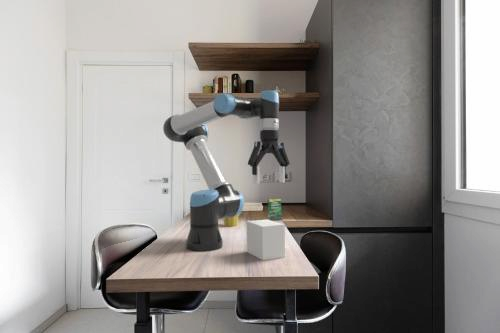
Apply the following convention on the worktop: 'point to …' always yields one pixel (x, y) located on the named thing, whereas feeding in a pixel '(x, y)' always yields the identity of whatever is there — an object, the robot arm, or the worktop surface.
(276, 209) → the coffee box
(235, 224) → the plant pot
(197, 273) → the worktop surface
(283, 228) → the white upright box
